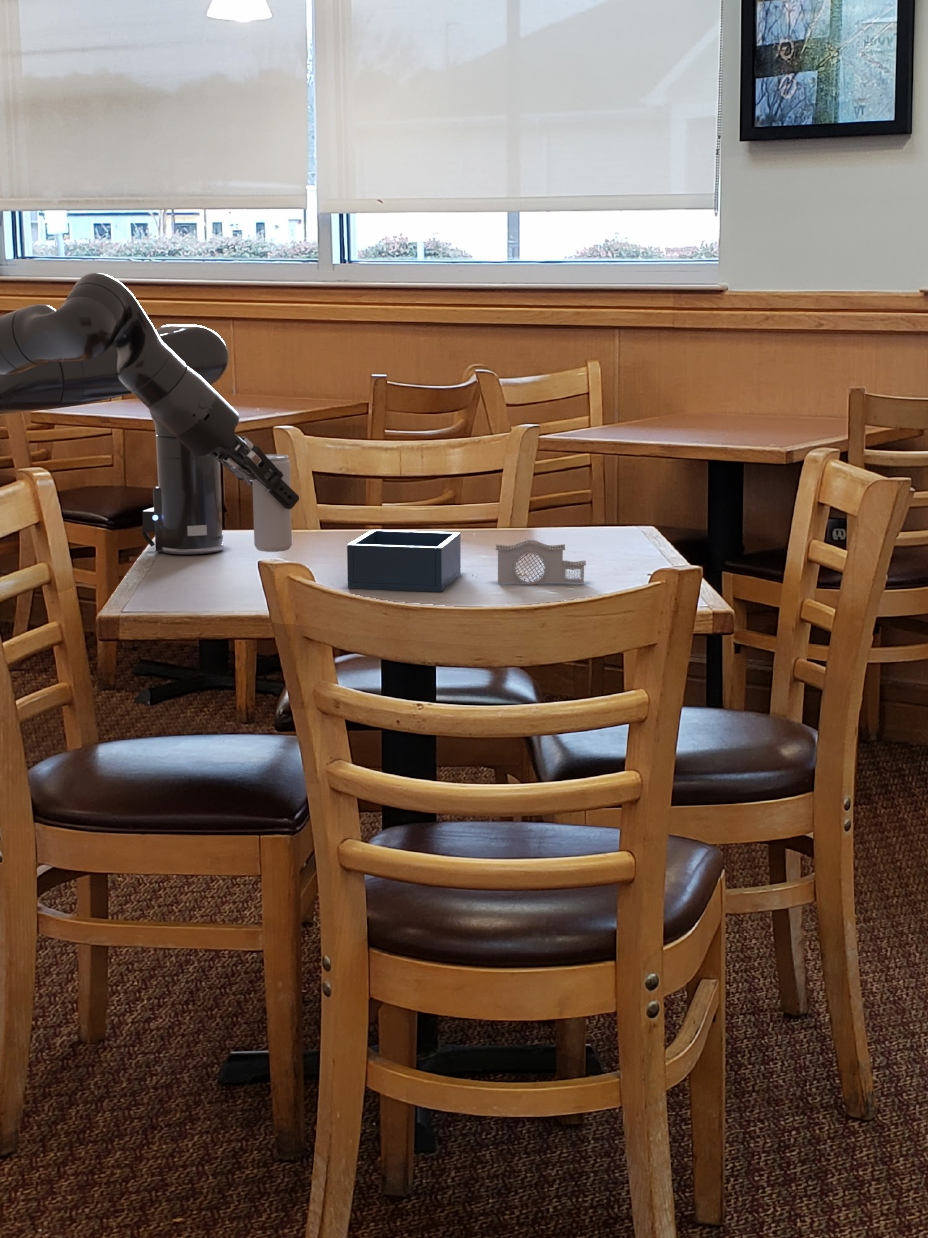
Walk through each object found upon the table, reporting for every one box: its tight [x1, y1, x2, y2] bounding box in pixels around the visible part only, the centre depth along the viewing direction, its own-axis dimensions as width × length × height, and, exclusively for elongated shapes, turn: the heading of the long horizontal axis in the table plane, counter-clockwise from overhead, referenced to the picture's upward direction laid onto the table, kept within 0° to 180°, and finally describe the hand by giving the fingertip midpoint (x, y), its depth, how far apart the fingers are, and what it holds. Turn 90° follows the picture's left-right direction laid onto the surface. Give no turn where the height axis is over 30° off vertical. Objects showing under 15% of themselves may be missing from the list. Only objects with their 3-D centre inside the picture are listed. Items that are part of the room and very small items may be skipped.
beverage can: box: [252, 453, 293, 553], centre depth 188 cm, size 5×5×12 cm
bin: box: [346, 529, 462, 593], centre depth 196 cm, size 13×13×6 cm
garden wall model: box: [495, 539, 587, 586], centre depth 195 cm, size 12×2×6 cm, turn 90°
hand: (285, 500), depth 189 cm, fingers closed on beverage can, 5 cm apart
